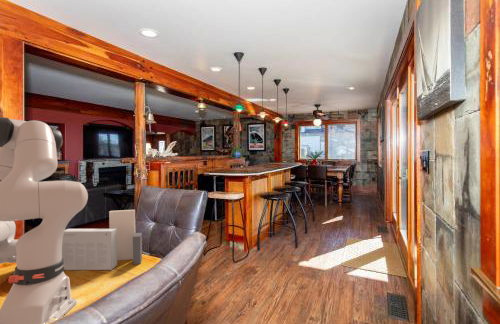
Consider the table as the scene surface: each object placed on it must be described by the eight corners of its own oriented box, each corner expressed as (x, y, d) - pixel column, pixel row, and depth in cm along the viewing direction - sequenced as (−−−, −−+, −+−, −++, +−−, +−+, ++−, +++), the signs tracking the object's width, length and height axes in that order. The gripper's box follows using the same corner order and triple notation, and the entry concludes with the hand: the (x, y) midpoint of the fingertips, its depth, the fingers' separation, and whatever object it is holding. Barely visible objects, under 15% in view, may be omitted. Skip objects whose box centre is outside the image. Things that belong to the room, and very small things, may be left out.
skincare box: (118, 265, 117) (117, 228, 116) (111, 270, 111) (110, 231, 111) (68, 264, 117) (68, 227, 116) (59, 270, 112) (58, 231, 111)
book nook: (140, 263, 118) (139, 213, 117) (106, 267, 115) (105, 214, 114) (142, 257, 126) (142, 209, 125) (110, 260, 122) (109, 210, 121)
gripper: (7, 251, 99) (52, 248, 103) (35, 235, 119) (71, 232, 122) (8, 268, 99) (52, 264, 103) (35, 249, 119) (72, 246, 123)
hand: (63, 247), depth 113 cm, fingers closed on skincare box, 3 cm apart
